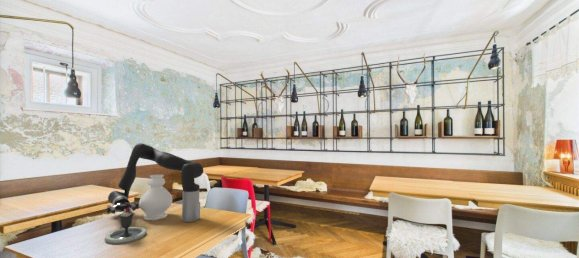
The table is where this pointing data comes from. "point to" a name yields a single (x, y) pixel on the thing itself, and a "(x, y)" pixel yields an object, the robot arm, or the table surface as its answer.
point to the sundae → (126, 221)
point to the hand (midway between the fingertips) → (124, 210)
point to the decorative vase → (155, 199)
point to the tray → (116, 239)
